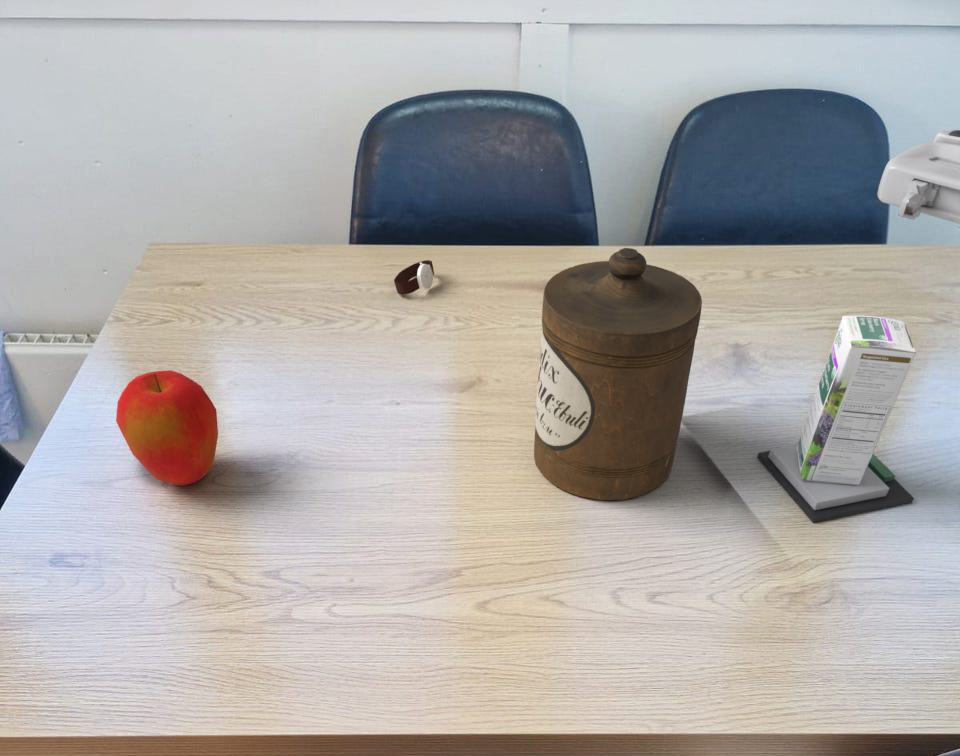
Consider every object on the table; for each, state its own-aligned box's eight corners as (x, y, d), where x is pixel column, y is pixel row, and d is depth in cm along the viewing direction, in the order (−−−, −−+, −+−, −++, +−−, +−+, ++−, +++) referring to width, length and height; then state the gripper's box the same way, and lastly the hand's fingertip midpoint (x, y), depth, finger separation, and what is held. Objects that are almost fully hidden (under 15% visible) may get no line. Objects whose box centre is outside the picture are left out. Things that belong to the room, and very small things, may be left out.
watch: (416, 302, 116) (415, 276, 113) (386, 295, 117) (384, 268, 114) (442, 279, 120) (442, 252, 118) (413, 272, 122) (411, 246, 119)
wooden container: (524, 422, 97) (535, 220, 80) (654, 416, 98) (690, 215, 81) (543, 505, 87) (559, 294, 71) (687, 498, 88) (736, 288, 72)
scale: (844, 454, 93) (854, 427, 91) (905, 517, 86) (918, 489, 83) (752, 471, 91) (760, 444, 88) (808, 537, 84) (818, 510, 81)
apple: (121, 491, 88) (81, 387, 79) (173, 443, 94) (142, 341, 85) (198, 513, 86) (167, 408, 77) (247, 463, 91) (223, 359, 83)
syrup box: (794, 447, 88) (839, 312, 77) (853, 452, 88) (907, 317, 77) (800, 481, 84) (848, 344, 73) (862, 487, 84) (919, 350, 73)
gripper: (1107, 244, 84) (1056, 291, 77) (906, 190, 94) (845, 228, 87) (1143, 174, 79) (1092, 218, 72) (928, 125, 89) (865, 159, 82)
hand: (956, 223), depth 80 cm, fingers open, 8 cm apart
